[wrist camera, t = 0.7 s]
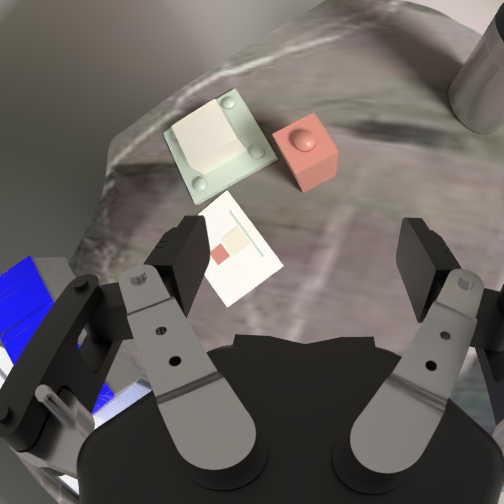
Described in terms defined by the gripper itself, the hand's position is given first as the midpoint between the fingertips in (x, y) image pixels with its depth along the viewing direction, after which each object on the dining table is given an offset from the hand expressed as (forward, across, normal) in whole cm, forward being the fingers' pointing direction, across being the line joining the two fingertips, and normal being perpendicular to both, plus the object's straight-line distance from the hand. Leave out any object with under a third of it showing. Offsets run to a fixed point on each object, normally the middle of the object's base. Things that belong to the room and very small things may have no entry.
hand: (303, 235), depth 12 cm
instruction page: (+22, +9, +15) cm, 28 cm away
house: (+16, +37, +30) cm, 50 cm away
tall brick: (+27, -1, +6) cm, 27 cm away
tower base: (+29, +11, +3) cm, 31 cm away
